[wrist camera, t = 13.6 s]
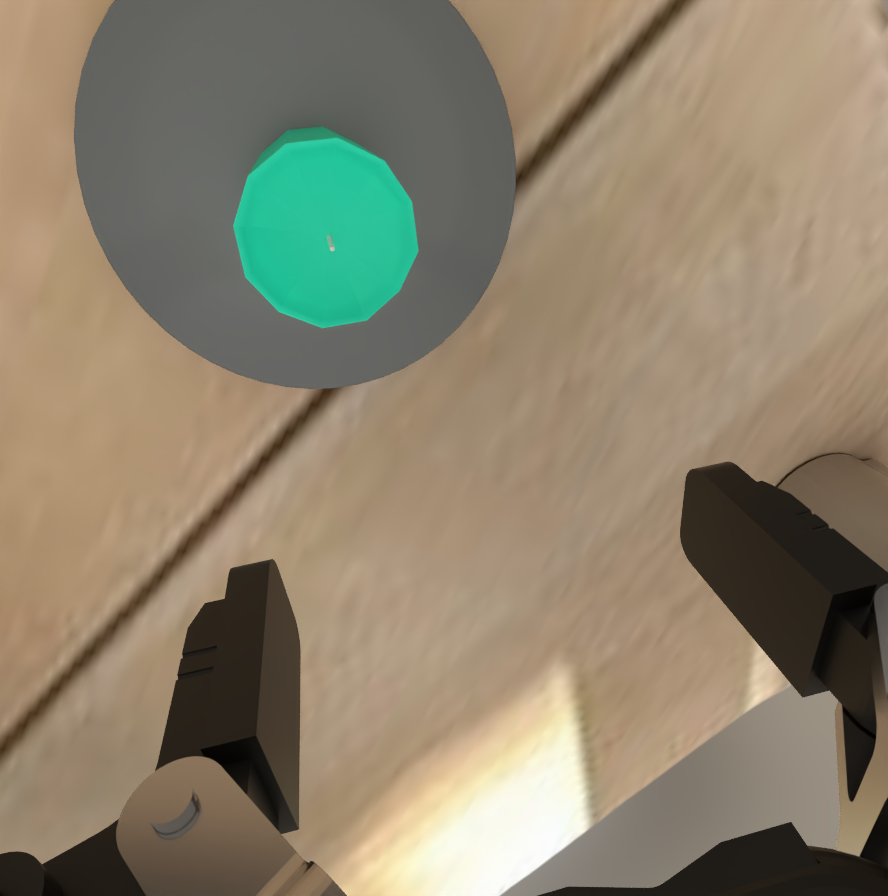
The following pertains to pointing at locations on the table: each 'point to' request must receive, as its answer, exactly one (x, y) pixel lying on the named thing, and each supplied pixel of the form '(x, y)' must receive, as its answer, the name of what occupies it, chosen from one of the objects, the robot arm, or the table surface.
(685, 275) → the table surface
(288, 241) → the candle
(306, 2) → the candle tray
